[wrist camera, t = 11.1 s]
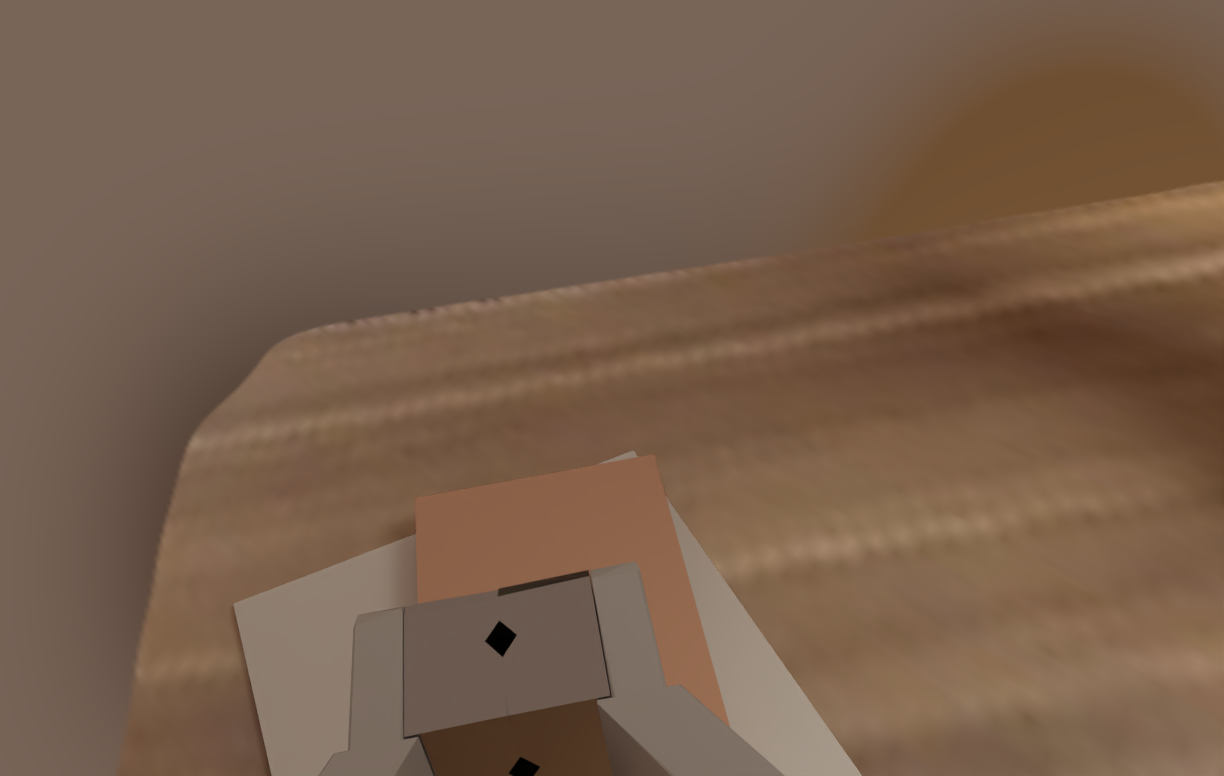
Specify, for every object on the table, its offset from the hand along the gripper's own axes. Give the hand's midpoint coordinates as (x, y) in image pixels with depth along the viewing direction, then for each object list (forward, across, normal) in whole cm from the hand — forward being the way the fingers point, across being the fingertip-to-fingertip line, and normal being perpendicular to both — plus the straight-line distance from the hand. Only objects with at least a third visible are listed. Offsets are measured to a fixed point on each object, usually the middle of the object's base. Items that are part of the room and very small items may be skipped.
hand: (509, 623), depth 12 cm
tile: (+12, +1, +23) cm, 26 cm away
